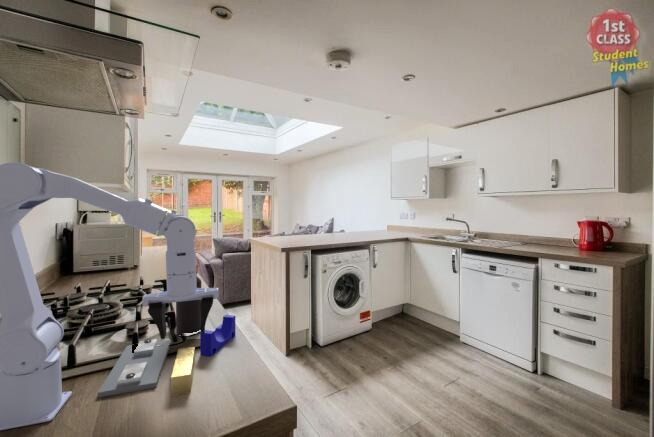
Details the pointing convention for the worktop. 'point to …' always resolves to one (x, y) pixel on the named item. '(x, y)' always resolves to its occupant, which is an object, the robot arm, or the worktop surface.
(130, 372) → the mounting blocks
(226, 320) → the cable clip
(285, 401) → the worktop surface
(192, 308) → the bottle
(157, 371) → the slate board
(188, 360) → the link bar
